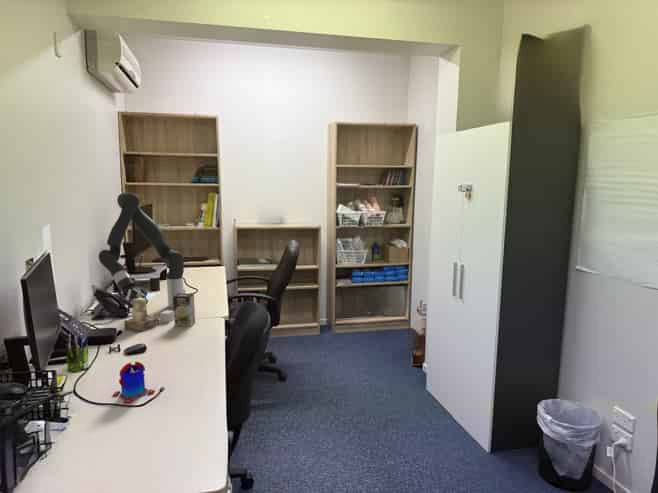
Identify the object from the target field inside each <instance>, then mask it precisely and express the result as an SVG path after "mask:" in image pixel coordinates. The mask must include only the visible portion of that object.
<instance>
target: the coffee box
mask: <svg viewBox="0 0 658 493" xmlns="http://www.w3.org/2000/svg"><path fill="white" fill-rule="evenodd" d="M173 302H174V308H173V311H174V320H173V321H174V326H175V327H192V326H194V325H195V324H196V314H195V313H196V312H195V311H196V308H195V293H186V292H185V293H178V294H176V295H175V296H173Z"/></svg>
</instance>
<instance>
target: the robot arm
mask: <svg viewBox="0 0 658 493" xmlns="http://www.w3.org/2000/svg"><path fill="white" fill-rule="evenodd" d="M116 202H117V205H118V207H119V208H120V209H121V211H120V214H119V216H118V218H117V219H116V222H115V223H114V224H113V226H112V227H111V230H110V232H109V234H108V236H107V241H106V245H108V246H109V249H103V250H100V252H99V254H98V259H99V262H100V263H101V265H103V267H104V268H105V269H106V270H107V271H108V272H109V273H110V275H111V276H112V278H113V280H114V282H115V284H116V285H117V287H118V289H119V291H117V294H116V296H117V298H118V300H119V302H120V303H121V304H125V305H126V306H127V307H128V308H129V309H131V310H132V307H133V305H132V303H131V301H130V299H133V298H135V297H137V298H139V297H141V298H145V299H146V305H147V304H148V302H149V300H148V299H147V296H148V294H149V293H148V292H147V290H146V289H145V288H144V286H143V285H140V286H139V287H137V286H136V284H135V282H134V280H133V279H132V277H131V275H130V274H129V273H128V271H127V270H126V269H125V267H124V265H123V264H122V263H120V262H119V261H120V257H121V250H122V242H123V240H124V237H125V235H126V233H127V232H126V231H127V229H128V228H129V227H128V226H129V225H130V223H131V221H133V223H134V224H135V226H136V227H137V229H138V230H139V231H140V233H141V234H142V235H143V236H144V238H145V239H146V240H147V241H148V243H149V244H150V245H151V246H152V247H153V248H154V249H155V251H156V252H157V253H158V256H159V257H160V259H161V260H162V261H163V263H164V265H166V266H168V272H167V273H166V276H165V278H166V290H167V291H166V292H167V306H168V308H171V309H172V308H173V309H174V302H173V296H175V295H176V294H178V293H186V289H185V288H184V276H183V275H184V272H185V268H184V267H185V262H184V256H183V254H182V253H181V252H180V251H176V250H174V249H172V247H170V245H169V244H168V243H167V242H166V240H165V237H164V233H163V231H162V230H161V229H160V227H159V226H158V225H157V223H156V222H155V221H154V220H153V219H152V218H151V217H150V216H148V214H146V213H145V212H144V211H143V210H142V209H141V207H140V206H139V205H140V198H139V197H138V195H137V194H135V193H132V192H123V193H120V194H119V195H118V196H117V200H116ZM124 296H125V297H124Z"/></svg>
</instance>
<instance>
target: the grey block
mask: <svg viewBox="0 0 658 493" xmlns="http://www.w3.org/2000/svg"><path fill="white" fill-rule="evenodd" d="M159 315H160V317H159V318H160V323H171V322H173V321H175V320H174V310H167V309H166V310H163V311H162V312H160V313H159Z"/></svg>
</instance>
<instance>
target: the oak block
mask: <svg viewBox="0 0 658 493" xmlns="http://www.w3.org/2000/svg"><path fill="white" fill-rule="evenodd" d="M130 300H131V301H130V302H131V304H132V305H133V307H132V308H131V313H132V318H133V321H137V322H141V321H144V320H147V316H148V310H147V309H148V308H147V304H146V299H145V298H141V297H137V298H131V299H130Z"/></svg>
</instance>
